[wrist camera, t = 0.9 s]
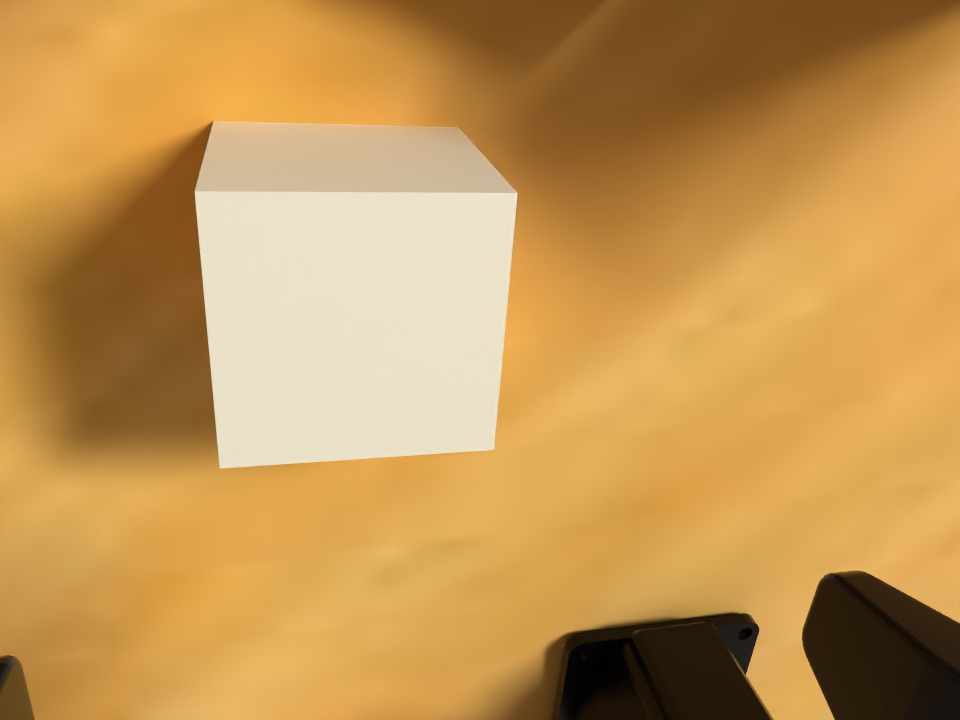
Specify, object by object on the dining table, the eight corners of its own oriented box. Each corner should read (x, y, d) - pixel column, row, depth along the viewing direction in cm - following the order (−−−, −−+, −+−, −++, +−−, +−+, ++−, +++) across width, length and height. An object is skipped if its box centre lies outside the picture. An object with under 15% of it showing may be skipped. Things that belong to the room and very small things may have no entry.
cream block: (445, 335, 20) (494, 449, 16) (230, 342, 19) (219, 468, 15) (457, 125, 18) (517, 192, 13) (213, 120, 17) (194, 191, 12)
